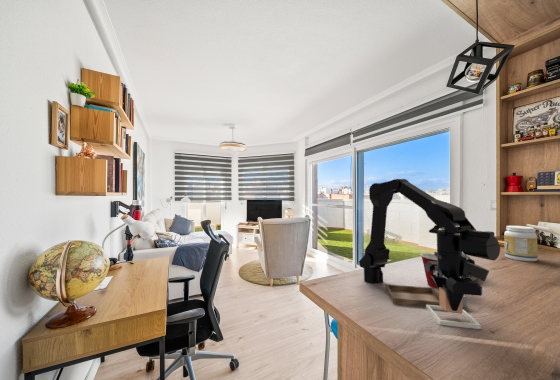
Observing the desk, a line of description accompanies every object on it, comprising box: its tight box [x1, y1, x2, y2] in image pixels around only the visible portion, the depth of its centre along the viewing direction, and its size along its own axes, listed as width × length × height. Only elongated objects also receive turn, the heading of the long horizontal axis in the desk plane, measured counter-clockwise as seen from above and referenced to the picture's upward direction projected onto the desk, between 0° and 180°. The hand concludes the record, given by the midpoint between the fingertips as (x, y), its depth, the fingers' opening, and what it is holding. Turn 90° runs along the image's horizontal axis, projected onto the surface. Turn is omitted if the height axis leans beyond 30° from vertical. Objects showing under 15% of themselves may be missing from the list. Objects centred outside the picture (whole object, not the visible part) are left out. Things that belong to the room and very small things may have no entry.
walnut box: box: [384, 283, 440, 308], centre depth 76 cm, size 15×11×2 cm
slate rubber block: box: [462, 295, 468, 308], centre depth 72 cm, size 4×4×4 cm
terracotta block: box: [438, 287, 464, 314], centre depth 64 cm, size 4×4×5 cm
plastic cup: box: [420, 253, 438, 289], centre depth 86 cm, size 11×11×12 cm
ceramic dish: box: [425, 304, 482, 330], centre depth 64 cm, size 9×9×2 cm
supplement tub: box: [503, 225, 539, 262], centre depth 122 cm, size 12×12×17 cm
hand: (450, 306), depth 64 cm, fingers closed on terracotta block, 4 cm apart
